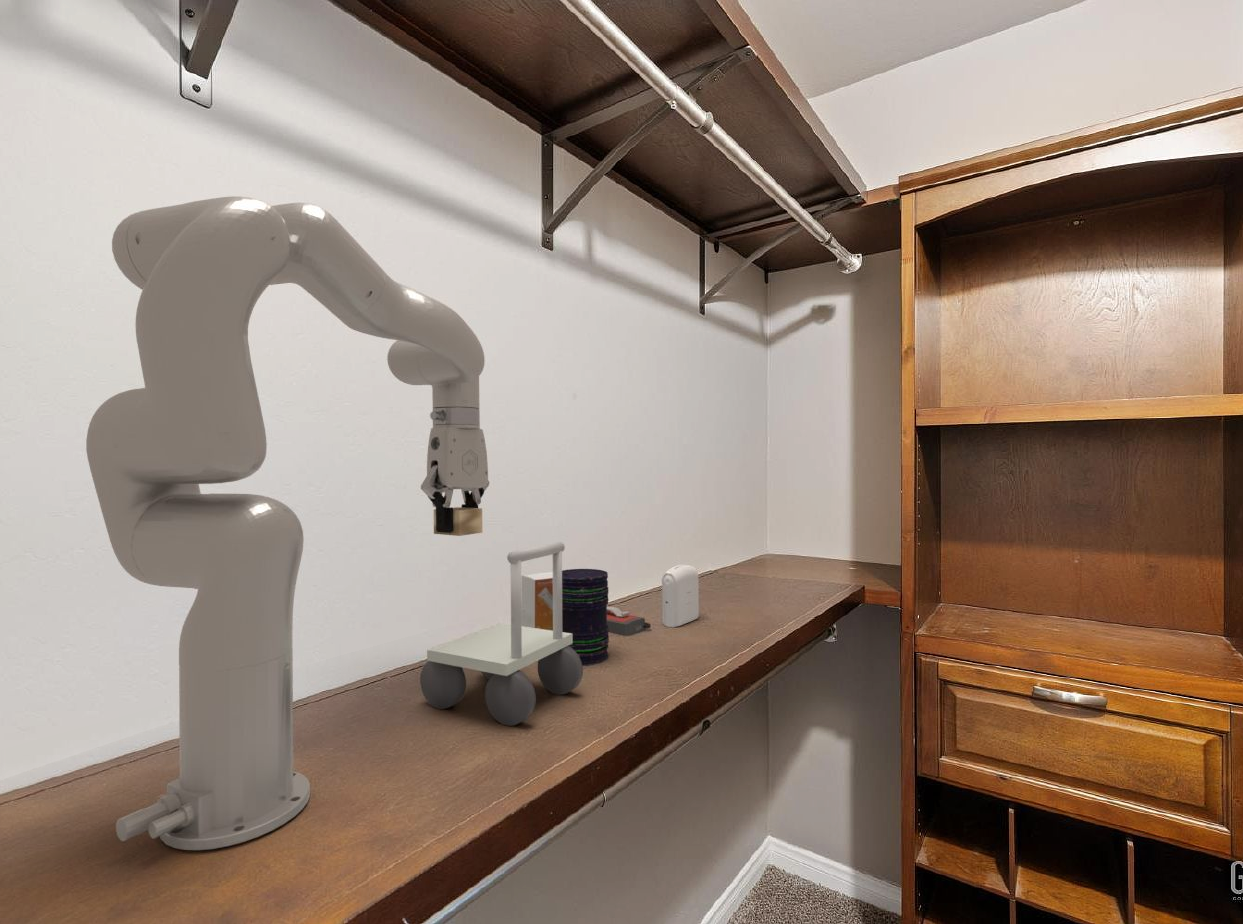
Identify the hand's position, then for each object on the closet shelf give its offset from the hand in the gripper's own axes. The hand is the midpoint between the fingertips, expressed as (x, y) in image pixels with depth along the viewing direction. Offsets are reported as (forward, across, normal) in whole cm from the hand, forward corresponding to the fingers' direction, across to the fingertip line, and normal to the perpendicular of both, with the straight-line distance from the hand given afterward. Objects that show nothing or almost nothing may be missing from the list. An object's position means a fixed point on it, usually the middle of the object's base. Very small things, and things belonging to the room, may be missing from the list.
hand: (457, 528), depth 100 cm
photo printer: (+25, +46, -21) cm, 56 cm away
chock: (+1, 0, 0) cm, 1 cm away
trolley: (+24, -6, -14) cm, 28 cm away
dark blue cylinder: (+24, +16, -14) cm, 32 cm away
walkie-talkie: (+25, +37, -7) cm, 46 cm away
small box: (+24, +21, -3) cm, 33 cm away
